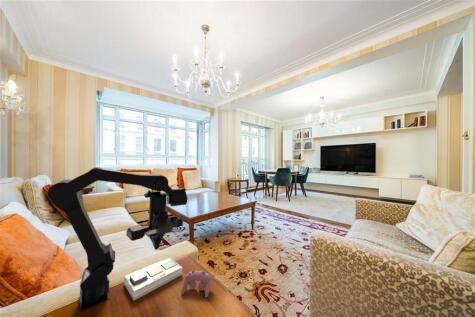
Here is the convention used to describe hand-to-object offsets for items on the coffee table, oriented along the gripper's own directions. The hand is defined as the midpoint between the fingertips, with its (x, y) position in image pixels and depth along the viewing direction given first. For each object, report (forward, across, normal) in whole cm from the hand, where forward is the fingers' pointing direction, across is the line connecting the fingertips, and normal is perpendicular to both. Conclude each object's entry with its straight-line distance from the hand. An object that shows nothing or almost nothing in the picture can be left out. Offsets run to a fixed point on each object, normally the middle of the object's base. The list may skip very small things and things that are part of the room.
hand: (156, 249), depth 64 cm
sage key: (+10, +5, 0) cm, 11 cm away
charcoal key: (+9, -6, 0) cm, 11 cm away
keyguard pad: (+11, 0, 0) cm, 11 cm away
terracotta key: (+10, 0, 0) cm, 10 cm away
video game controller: (+12, +8, -16) cm, 21 cm away
